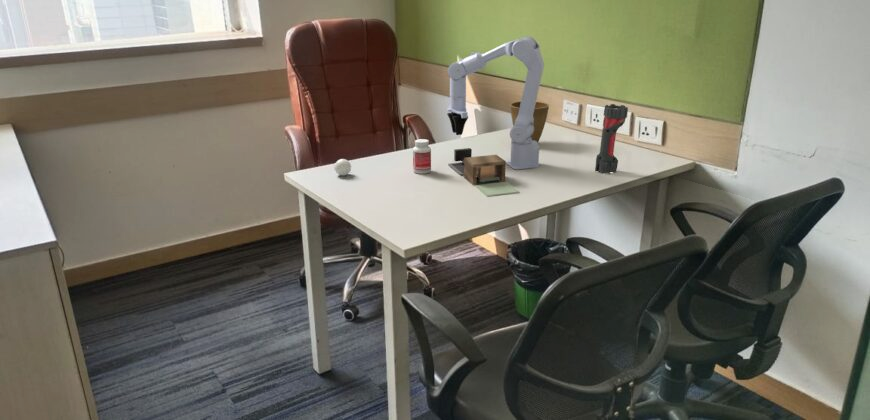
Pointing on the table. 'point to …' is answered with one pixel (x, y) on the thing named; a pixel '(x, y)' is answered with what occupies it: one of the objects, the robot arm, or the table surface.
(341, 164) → the white ball
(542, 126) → the plant pot
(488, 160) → the tunnel
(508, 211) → the table surface
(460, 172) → the grey flat square panel
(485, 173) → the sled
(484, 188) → the pad
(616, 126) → the flashlight
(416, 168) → the pill bottle
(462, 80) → the robot arm
